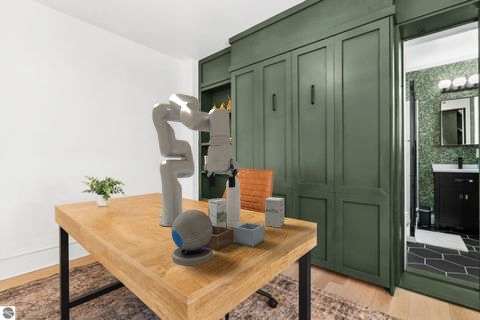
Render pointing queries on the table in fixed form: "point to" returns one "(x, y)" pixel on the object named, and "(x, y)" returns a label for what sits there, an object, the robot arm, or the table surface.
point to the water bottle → (233, 204)
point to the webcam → (192, 238)
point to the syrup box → (218, 212)
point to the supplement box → (274, 212)
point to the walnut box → (220, 238)
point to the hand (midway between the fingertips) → (221, 187)
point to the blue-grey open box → (249, 234)
